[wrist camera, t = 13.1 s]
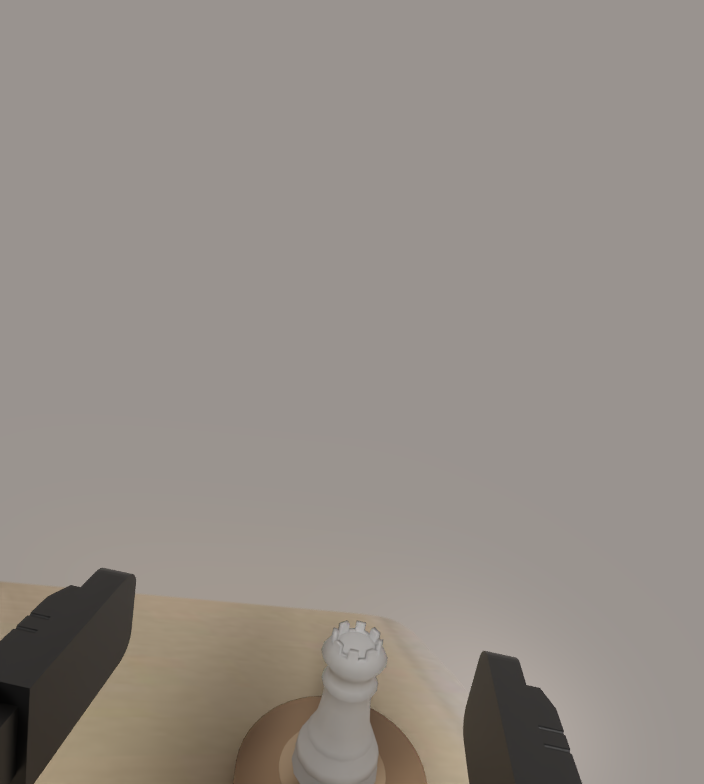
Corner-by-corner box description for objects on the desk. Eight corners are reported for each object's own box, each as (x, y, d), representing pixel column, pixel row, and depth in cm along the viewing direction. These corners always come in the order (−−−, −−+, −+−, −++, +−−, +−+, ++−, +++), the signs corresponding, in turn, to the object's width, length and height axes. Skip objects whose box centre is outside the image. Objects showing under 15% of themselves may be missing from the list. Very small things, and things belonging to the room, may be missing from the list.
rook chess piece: (279, 744, 30) (299, 614, 28) (354, 726, 32) (377, 603, 30) (307, 823, 26) (333, 677, 24) (390, 797, 28) (420, 660, 26)
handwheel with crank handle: (203, 866, 24) (218, 750, 23) (260, 698, 34) (272, 610, 33) (427, 916, 24) (455, 800, 23) (420, 731, 34) (439, 643, 32)
